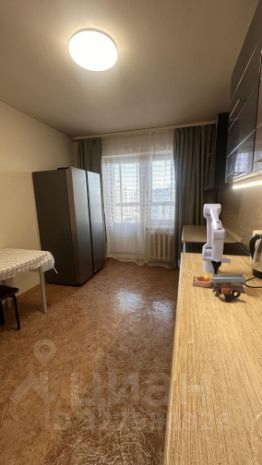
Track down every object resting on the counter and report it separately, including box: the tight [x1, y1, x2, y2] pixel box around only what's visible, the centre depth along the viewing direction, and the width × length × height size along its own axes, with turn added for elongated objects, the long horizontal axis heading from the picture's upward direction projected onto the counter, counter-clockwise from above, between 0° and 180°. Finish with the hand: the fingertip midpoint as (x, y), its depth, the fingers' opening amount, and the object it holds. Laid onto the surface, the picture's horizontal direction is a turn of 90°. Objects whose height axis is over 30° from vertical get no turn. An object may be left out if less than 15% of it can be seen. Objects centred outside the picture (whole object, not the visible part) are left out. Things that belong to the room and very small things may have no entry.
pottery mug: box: [212, 285, 242, 303], centre depth 96 cm, size 12×10×8 cm
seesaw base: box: [192, 275, 247, 294], centre depth 110 cm, size 14×26×4 cm, turn 70°
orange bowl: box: [195, 275, 213, 288], centre depth 110 cm, size 9×9×3 cm
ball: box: [204, 275, 211, 281], centre depth 109 cm, size 3×3×3 cm
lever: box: [212, 271, 246, 286], centre depth 109 cm, size 13×15×4 cm
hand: (215, 273), depth 114 cm, fingers closed
